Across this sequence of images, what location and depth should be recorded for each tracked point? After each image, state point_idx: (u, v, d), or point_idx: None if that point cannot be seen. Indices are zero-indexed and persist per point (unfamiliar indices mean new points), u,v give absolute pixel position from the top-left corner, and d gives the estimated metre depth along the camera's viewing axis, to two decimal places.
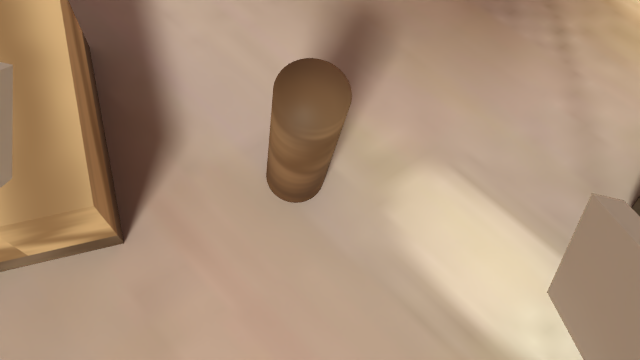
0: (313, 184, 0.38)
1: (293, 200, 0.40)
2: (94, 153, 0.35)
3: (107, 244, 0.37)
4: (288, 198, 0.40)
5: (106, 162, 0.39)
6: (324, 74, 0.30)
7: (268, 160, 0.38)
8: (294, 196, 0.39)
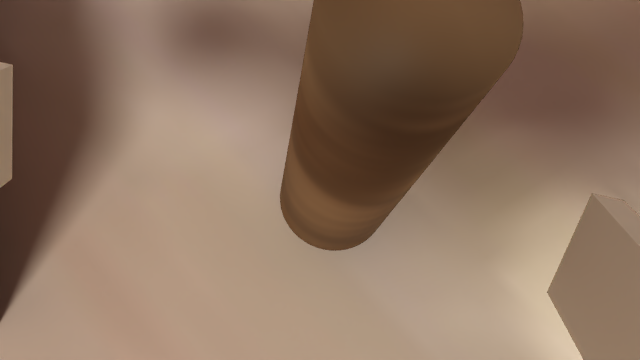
0: (374, 223, 0.19)
1: (329, 247, 0.21)
2: None
3: None
4: (320, 243, 0.21)
5: None
6: None
7: (287, 172, 0.19)
8: (333, 241, 0.21)
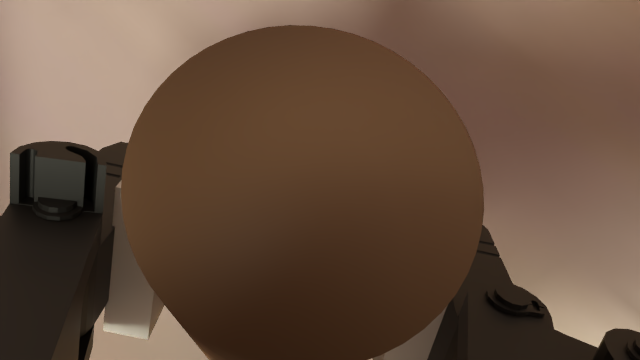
0: None
1: None
2: None
3: None
4: None
5: None
6: (359, 96, 0.07)
7: None
8: None
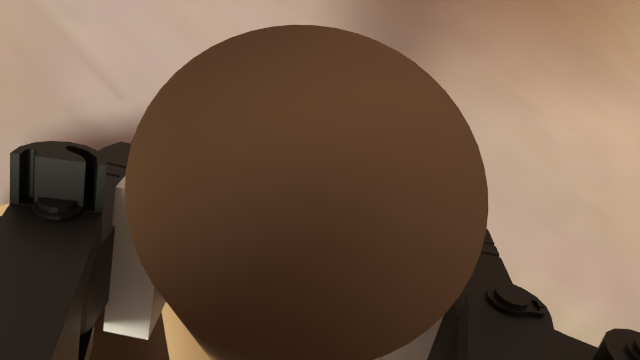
0: None
1: None
2: None
3: None
4: None
5: None
6: (363, 96, 0.07)
7: None
8: None
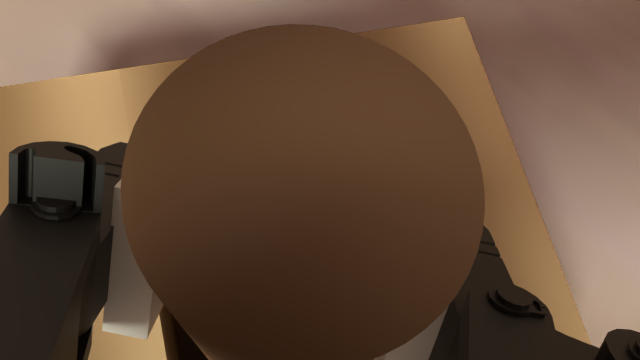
0: None
1: None
2: None
3: None
4: None
5: None
6: (360, 97, 0.07)
7: None
8: None
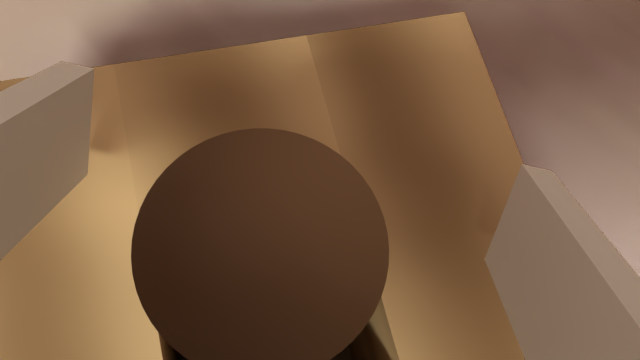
0: None
1: None
2: None
3: None
4: None
5: None
6: (302, 182, 0.10)
7: None
8: None
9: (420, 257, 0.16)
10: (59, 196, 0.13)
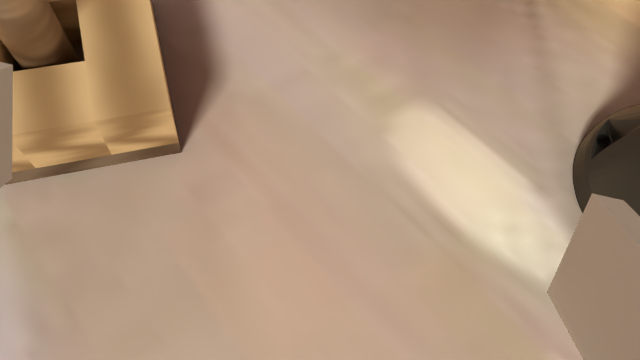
0: None
1: None
2: (165, 76, 0.46)
3: (169, 151, 0.48)
4: None
5: (168, 89, 0.49)
6: None
7: None
8: None
9: (98, 23, 0.43)
10: None
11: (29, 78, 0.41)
